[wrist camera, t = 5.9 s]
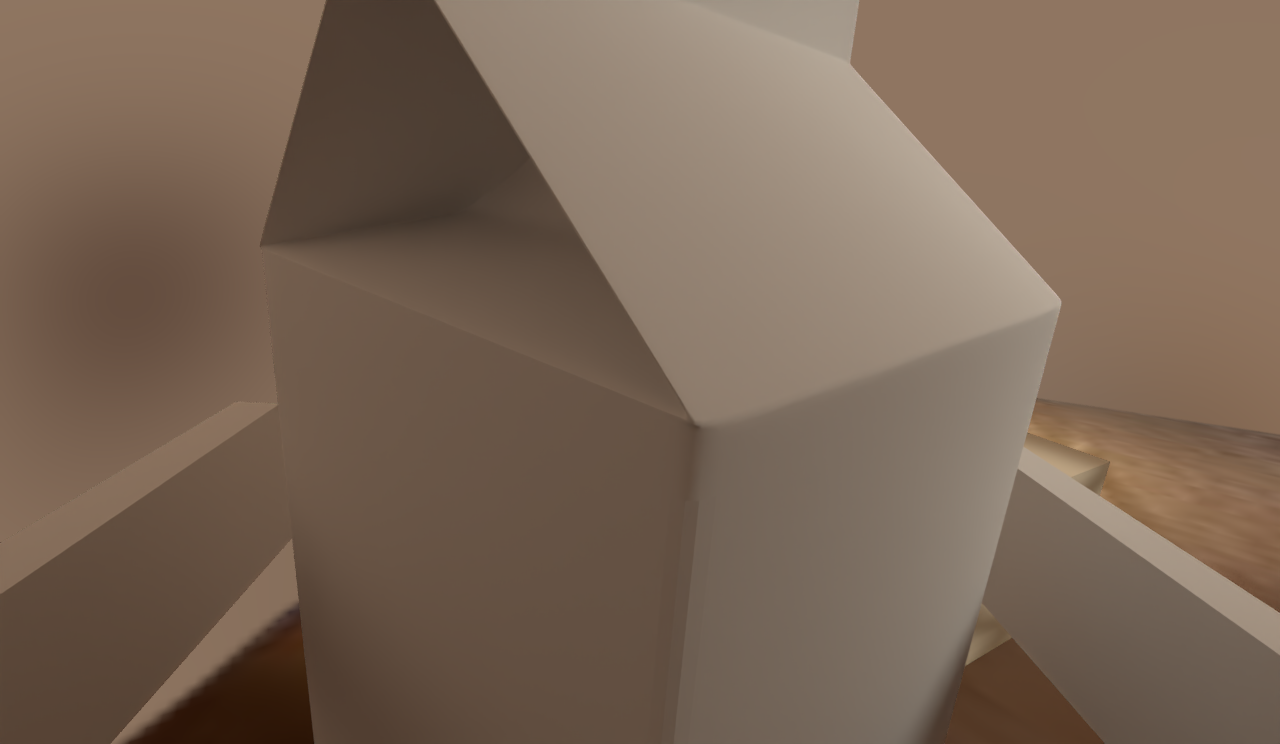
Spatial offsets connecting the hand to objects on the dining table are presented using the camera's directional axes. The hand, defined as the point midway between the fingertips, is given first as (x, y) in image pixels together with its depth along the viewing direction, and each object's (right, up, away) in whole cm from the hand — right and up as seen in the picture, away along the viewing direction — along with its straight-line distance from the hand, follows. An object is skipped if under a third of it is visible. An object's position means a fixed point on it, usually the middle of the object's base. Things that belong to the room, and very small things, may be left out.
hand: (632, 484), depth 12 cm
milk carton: (-1, -11, 0) cm, 11 cm away
